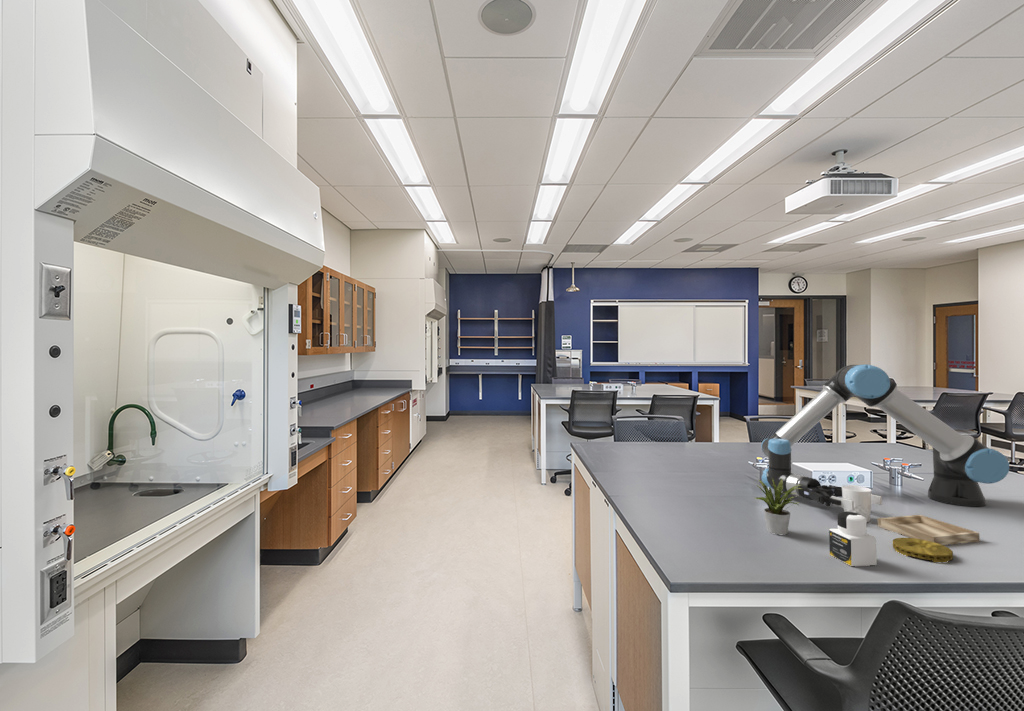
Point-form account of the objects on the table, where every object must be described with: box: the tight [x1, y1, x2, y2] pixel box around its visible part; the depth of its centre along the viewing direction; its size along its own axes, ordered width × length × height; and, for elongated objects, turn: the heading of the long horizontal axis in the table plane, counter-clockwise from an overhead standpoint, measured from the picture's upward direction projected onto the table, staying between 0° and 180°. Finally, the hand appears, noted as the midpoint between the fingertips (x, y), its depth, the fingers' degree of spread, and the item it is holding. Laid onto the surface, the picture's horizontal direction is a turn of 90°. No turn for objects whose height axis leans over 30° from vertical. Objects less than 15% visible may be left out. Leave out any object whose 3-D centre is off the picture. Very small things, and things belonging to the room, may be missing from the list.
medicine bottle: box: [828, 511, 878, 567], centre depth 119 cm, size 7×7×12 cm
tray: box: [877, 514, 980, 546], centre depth 137 cm, size 16×16×2 cm
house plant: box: [754, 477, 802, 535], centre depth 138 cm, size 14×14×16 cm
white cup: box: [841, 484, 873, 523], centre depth 150 cm, size 8×8×10 cm
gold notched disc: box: [892, 537, 954, 563], centre depth 123 cm, size 12×12×2 cm
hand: (867, 503), depth 147 cm, fingers open, 13 cm apart
